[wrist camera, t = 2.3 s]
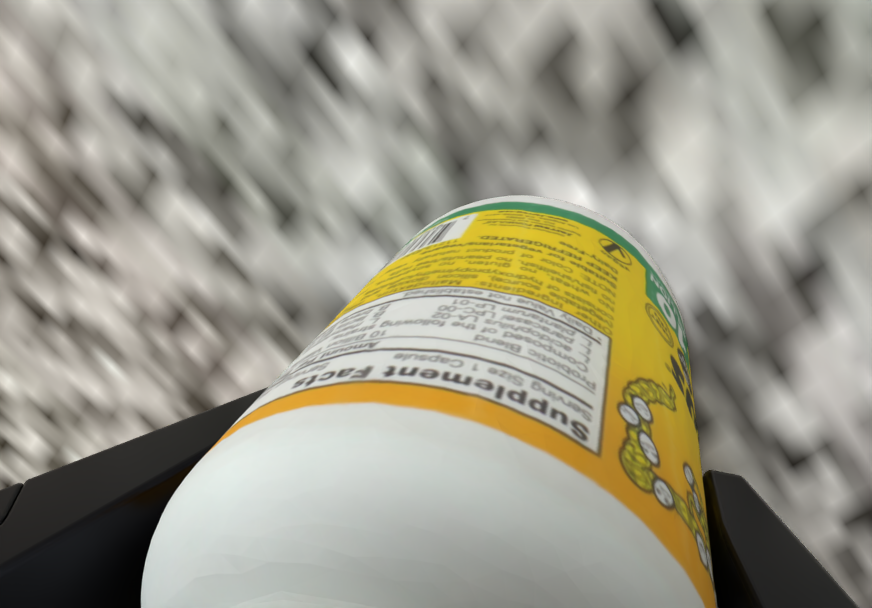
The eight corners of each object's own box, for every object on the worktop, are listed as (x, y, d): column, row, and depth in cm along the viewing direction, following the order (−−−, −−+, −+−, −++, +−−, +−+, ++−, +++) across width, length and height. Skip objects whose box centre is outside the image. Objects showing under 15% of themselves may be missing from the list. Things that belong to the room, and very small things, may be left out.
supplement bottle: (400, 161, 11) (-319, 636, 3) (729, 223, 10) (1101, 1261, 2) (377, 420, 14) (-52, 1087, 5) (642, 492, 13) (630, 1475, 4)
